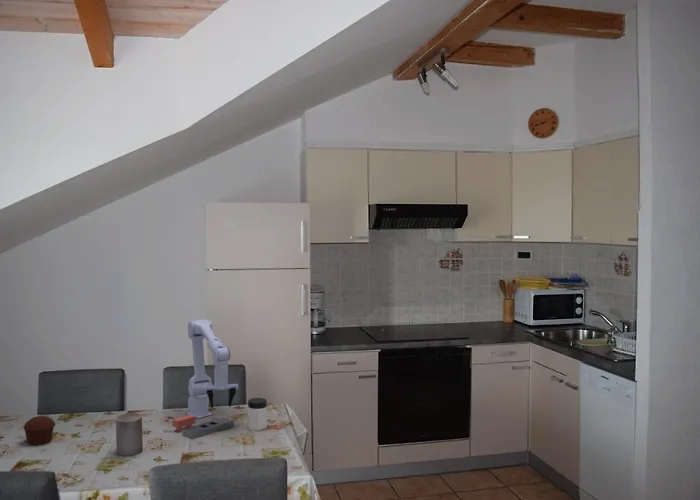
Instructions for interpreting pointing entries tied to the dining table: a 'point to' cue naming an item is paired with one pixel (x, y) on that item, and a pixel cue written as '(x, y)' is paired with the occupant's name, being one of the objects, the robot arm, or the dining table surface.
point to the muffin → (39, 430)
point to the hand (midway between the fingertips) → (220, 406)
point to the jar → (257, 414)
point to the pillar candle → (129, 434)
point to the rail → (207, 428)
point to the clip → (183, 422)
